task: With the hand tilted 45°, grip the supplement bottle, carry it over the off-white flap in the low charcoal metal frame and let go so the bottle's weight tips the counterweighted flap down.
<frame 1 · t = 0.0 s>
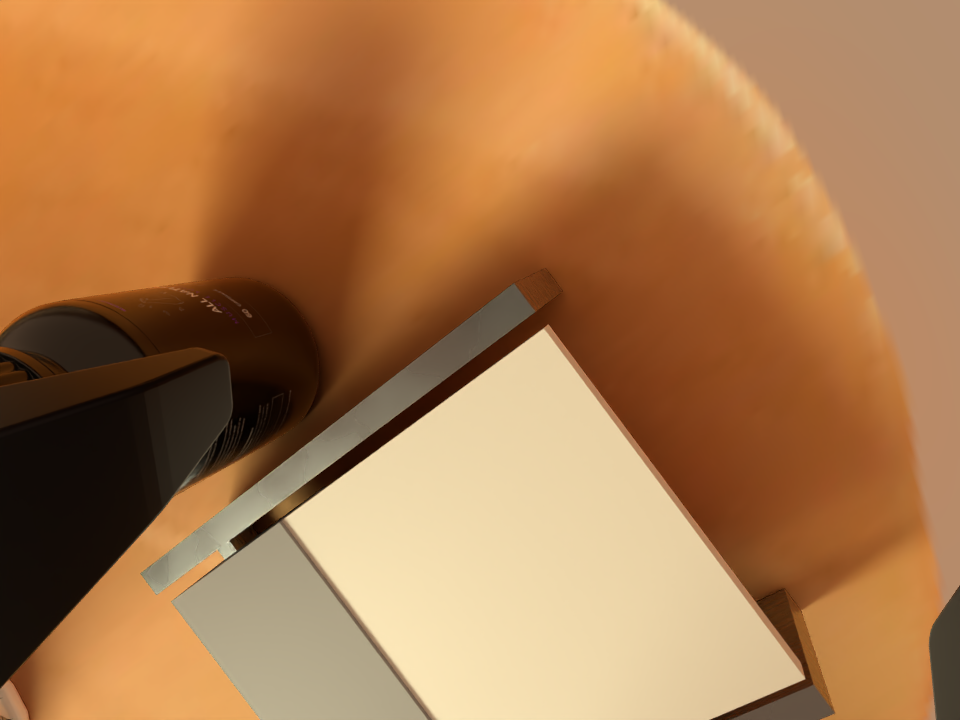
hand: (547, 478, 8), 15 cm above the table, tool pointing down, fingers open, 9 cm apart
supplement bottle: (253, 356, 27), on the table
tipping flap: (459, 609, 22), point 4 cm above the table, hinge at 0.0°
flap frame: (443, 580, 27), on the table
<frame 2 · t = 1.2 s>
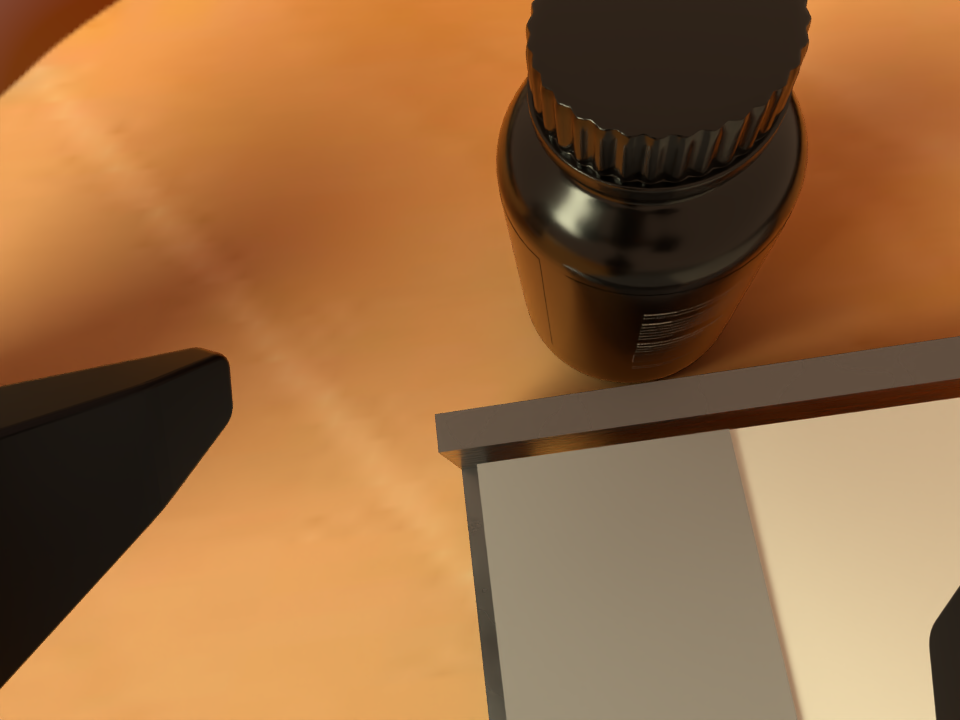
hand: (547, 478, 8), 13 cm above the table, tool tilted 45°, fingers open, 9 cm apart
supplement bottle: (623, 293, 23), on the table
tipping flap: (889, 686, 15), point 4 cm above the table, hinge at 0.0°
flap frame: (735, 669, 19), on the table
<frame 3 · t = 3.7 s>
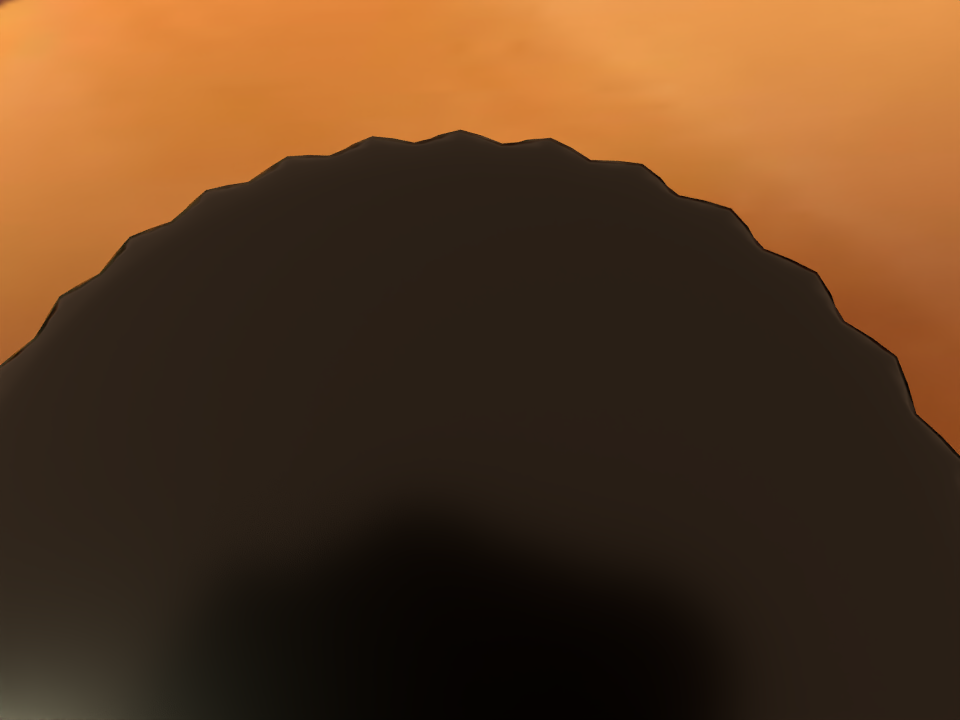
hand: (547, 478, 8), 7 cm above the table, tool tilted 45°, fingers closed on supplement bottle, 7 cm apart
supplement bottle: (543, 582, 14), on the table, touching gripper
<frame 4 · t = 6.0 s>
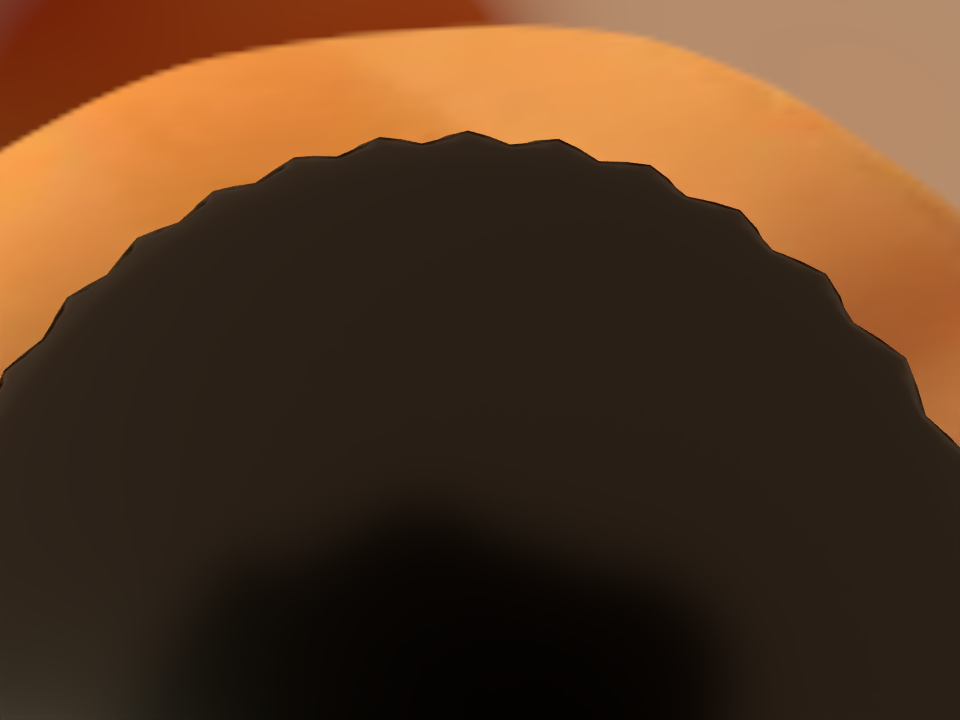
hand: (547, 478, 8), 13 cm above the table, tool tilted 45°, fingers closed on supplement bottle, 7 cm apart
supplement bottle: (544, 580, 14), point 6 cm above the table, touching gripper
when the fingers open (13 cm above the table, at t = 8.0 s): supplement bottle drops 3 cm, resting on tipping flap.
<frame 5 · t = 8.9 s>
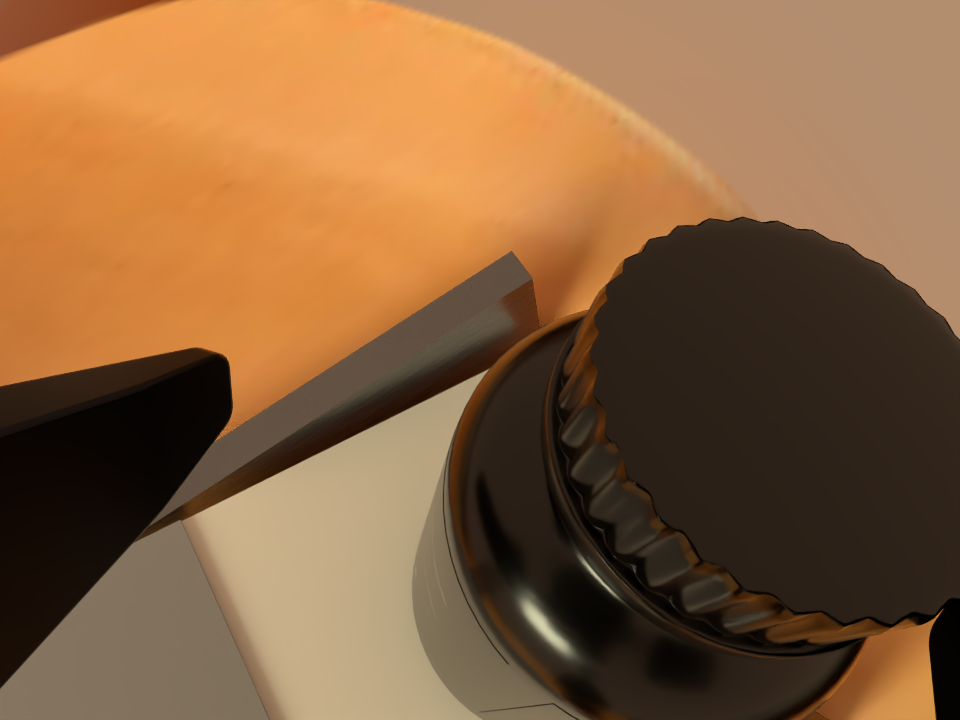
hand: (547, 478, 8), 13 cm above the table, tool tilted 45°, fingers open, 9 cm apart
supplement bottle: (535, 590, 17), point 3 cm above the table, touching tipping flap
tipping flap: (383, 690, 17), point 3 cm above the table, hinge at -20.9°, touching supplement bottle
flap frame: (356, 708, 20), on the table
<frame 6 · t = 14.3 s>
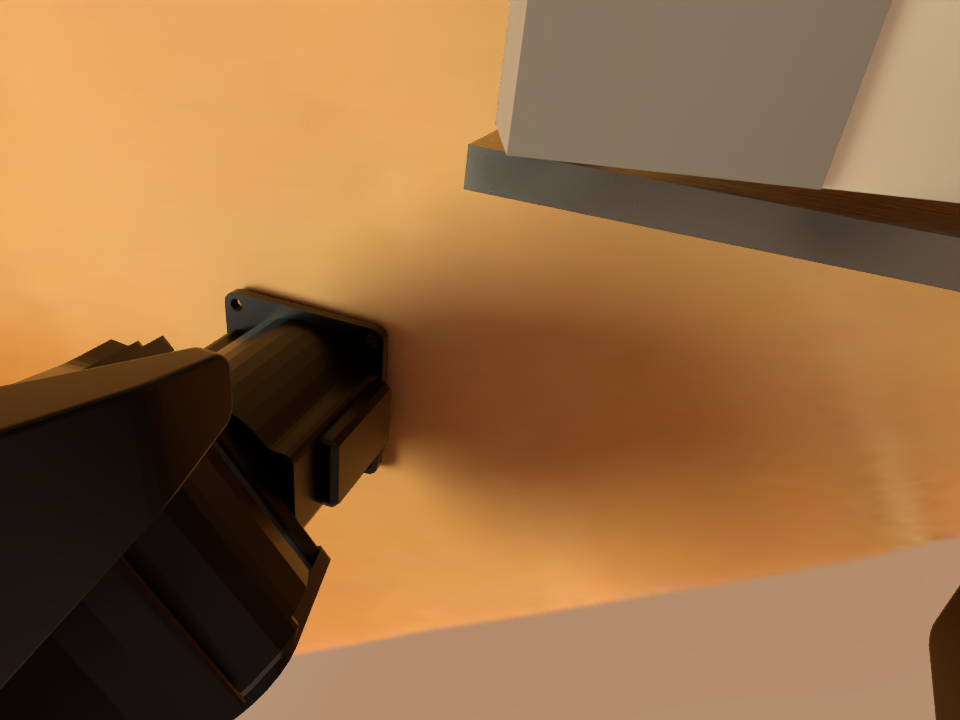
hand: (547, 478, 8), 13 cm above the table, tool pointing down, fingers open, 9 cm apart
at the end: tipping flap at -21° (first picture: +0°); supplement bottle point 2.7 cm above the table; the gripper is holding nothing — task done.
